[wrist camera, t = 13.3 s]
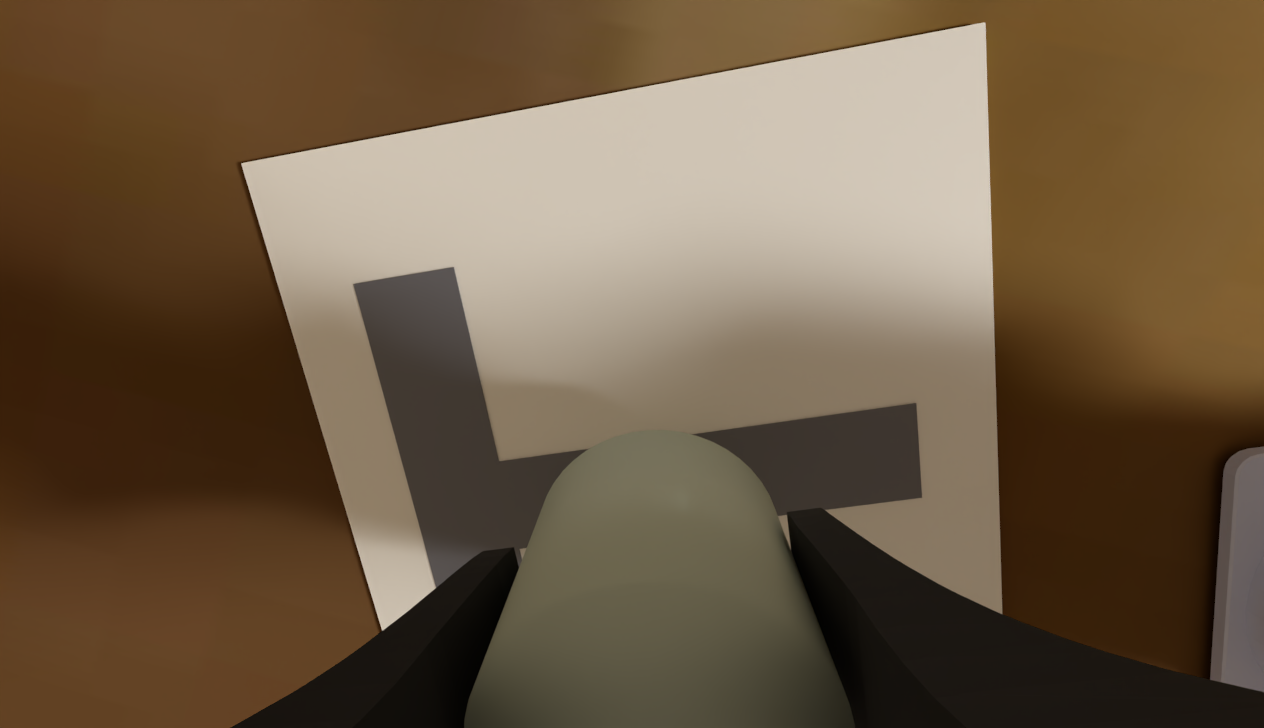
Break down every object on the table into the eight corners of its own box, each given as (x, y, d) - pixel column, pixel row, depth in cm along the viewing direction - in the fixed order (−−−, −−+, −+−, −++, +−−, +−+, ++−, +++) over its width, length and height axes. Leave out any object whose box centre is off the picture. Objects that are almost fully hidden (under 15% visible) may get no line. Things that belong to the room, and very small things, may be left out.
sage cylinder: (792, 437, 12) (883, 594, 7) (767, 653, 13) (829, 913, 8) (537, 423, 12) (458, 568, 7) (537, 639, 13) (468, 885, 9)
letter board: (980, 25, 12) (986, 21, 12) (1002, 746, 17) (1007, 754, 16) (247, 163, 14) (240, 163, 14) (437, 798, 18) (434, 806, 18)
